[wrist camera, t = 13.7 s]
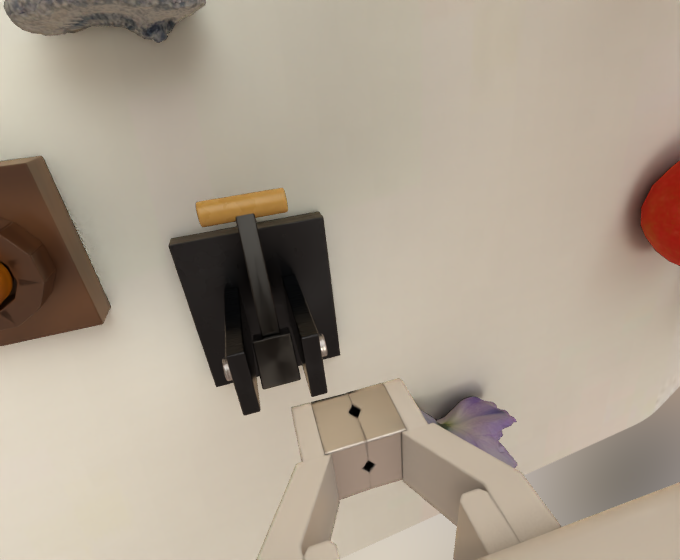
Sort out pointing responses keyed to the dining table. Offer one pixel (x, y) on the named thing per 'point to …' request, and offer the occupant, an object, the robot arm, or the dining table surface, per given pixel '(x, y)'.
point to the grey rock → (101, 15)
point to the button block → (43, 259)
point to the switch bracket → (238, 305)
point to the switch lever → (258, 278)
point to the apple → (664, 215)
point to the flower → (478, 426)
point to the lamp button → (5, 283)
